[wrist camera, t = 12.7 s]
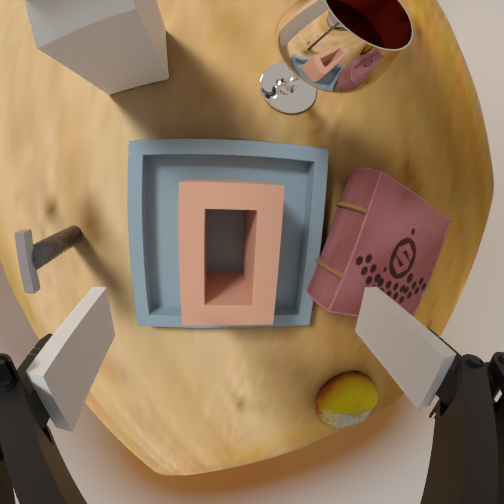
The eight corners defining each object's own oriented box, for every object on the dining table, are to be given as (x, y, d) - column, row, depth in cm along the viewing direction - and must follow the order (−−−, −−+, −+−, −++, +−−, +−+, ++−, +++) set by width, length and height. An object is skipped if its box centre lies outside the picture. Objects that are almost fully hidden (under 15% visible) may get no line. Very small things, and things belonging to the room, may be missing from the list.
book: (345, 165, 27) (375, 166, 23) (423, 212, 32) (450, 220, 28) (299, 289, 30) (321, 310, 25) (386, 308, 35) (409, 324, 31)
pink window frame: (257, 304, 32) (271, 342, 25) (189, 304, 31) (183, 343, 24) (265, 181, 28) (284, 185, 21) (188, 179, 27) (179, 182, 20)
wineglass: (238, 101, 26) (274, 14, 9) (268, 45, 24) (324, -56, 7) (307, 133, 28) (415, 100, 11) (332, 76, 26) (434, 15, 9)
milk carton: (169, 79, 24) (118, -26, 6) (108, 95, 24) (5, 31, 5) (166, 29, 22) (130, -83, 4) (107, 45, 21) (30, -39, 3)
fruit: (295, 408, 39) (318, 434, 31) (331, 355, 40) (361, 374, 33) (338, 422, 42) (363, 443, 34) (370, 375, 43) (399, 392, 35)
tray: (135, 143, 26) (129, 140, 23) (320, 150, 29) (328, 149, 26) (142, 315, 31) (138, 325, 29) (303, 315, 34) (309, 324, 32)
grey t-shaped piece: (65, 212, 26) (11, 233, 16) (80, 211, 27) (27, 232, 17) (69, 256, 28) (21, 292, 18) (84, 257, 28) (38, 294, 18)
